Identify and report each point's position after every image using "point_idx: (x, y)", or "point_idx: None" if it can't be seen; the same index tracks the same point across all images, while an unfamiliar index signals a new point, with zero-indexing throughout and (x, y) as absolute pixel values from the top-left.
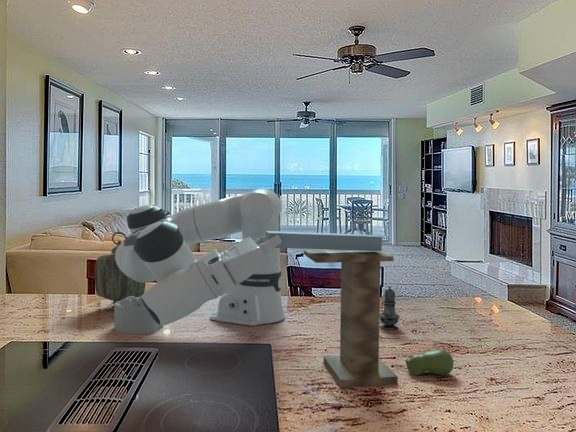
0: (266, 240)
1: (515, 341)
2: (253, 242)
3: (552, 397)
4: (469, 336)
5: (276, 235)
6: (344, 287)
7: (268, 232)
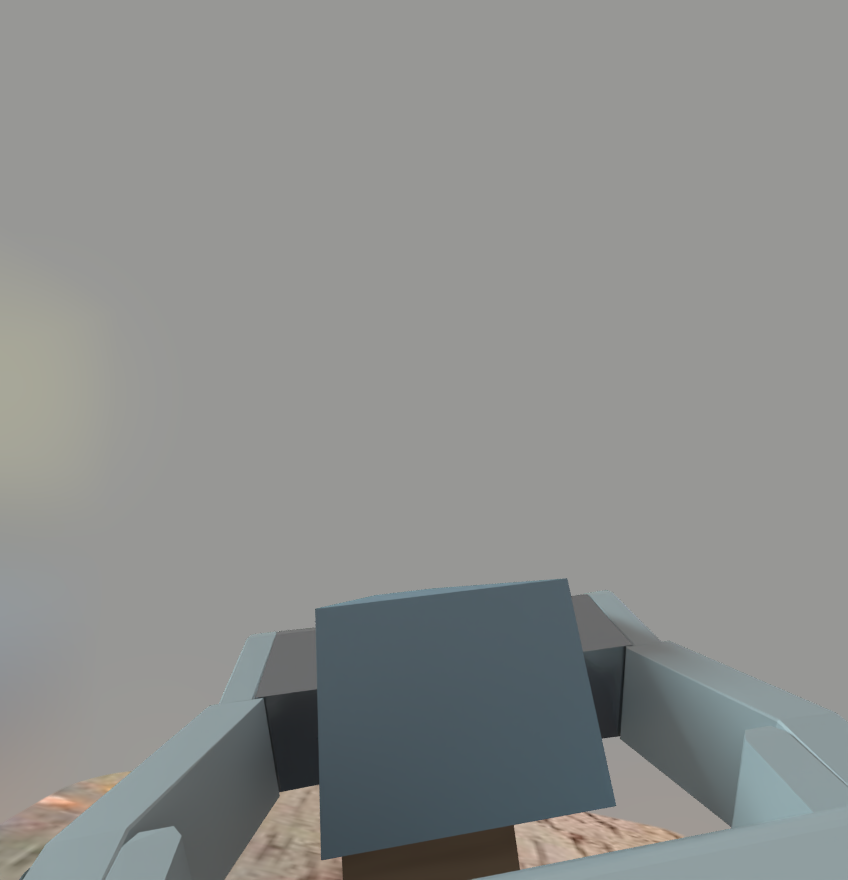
0: (410, 739)
1: (312, 806)
2: (702, 860)
3: (569, 824)
4: (248, 857)
5: (602, 593)
6: (403, 862)
7: (525, 583)
